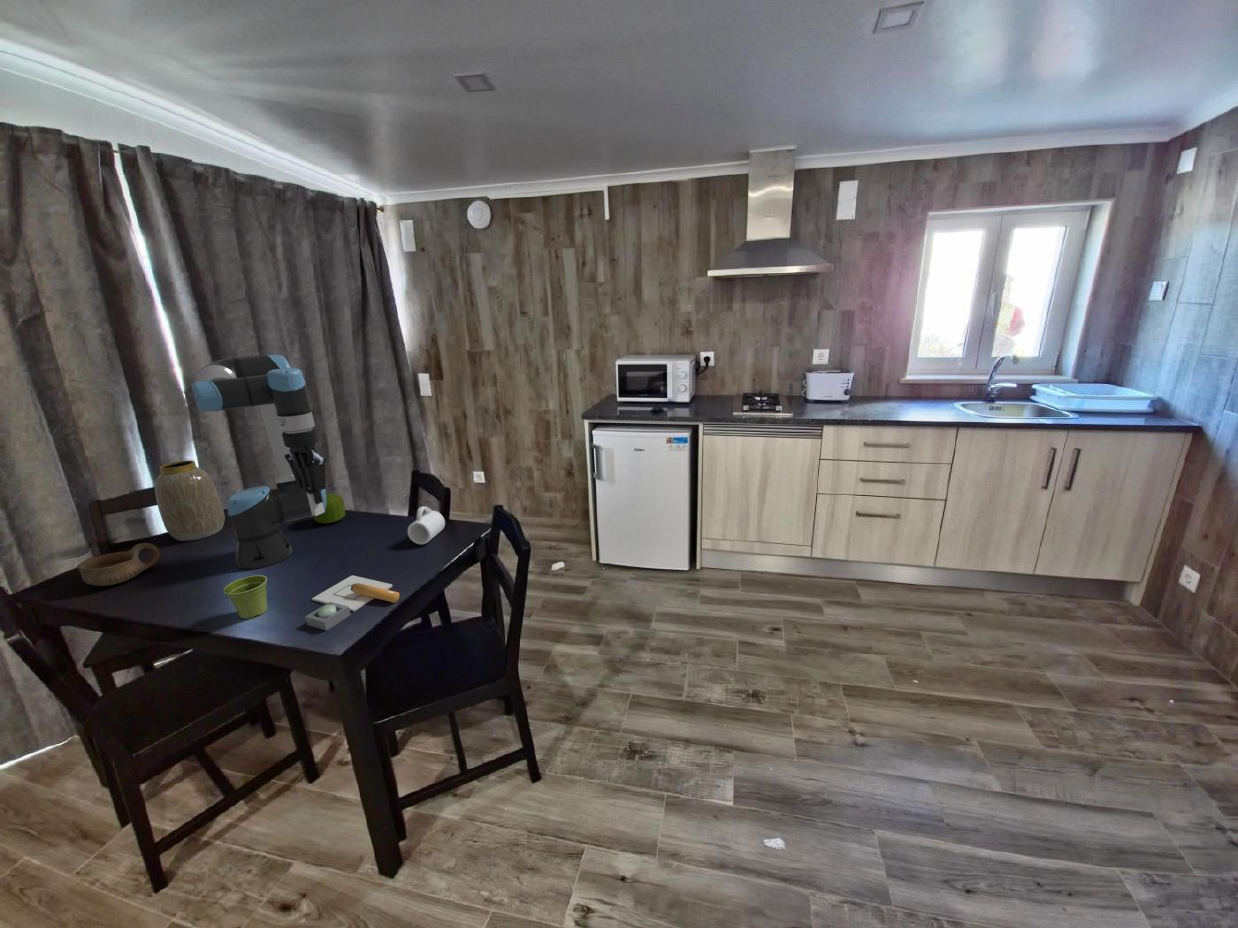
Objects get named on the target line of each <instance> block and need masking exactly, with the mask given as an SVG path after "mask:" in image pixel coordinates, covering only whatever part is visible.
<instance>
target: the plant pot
mask: <svg viewBox="0 0 1238 928" xmlns="http://www.w3.org/2000/svg"><path fill="white" fill-rule="evenodd" d="M267 582H268V577H267V576H265V575H262V574H259V575H250V576H246V577H242V578H240V579H237V580H234V581H232V582H230V583H229V584H227V585H226V586H224V588H223V589H222V592H223V594H225V595H226V596H227V597H228V598H229V599H230V601H231V603H232V605H233V607H234V609H235V610H236V612H237V614H238V616H239V617H240V618H241V619H243V620H248V619H253V618H254V617H256V616H260V615H261V616H262V615H263V614H264V613H266V611H268V601H267V600H268V599H267V588H266V587H267Z"/></svg>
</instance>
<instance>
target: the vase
mask: <svg viewBox="0 0 1238 928" xmlns="http://www.w3.org/2000/svg"><path fill="white" fill-rule="evenodd" d="M159 471H160V474H159V475H158V476H157V478H156V480H155V482H154V494H155V499H156V504H157V507H158V511H159V515H160V518H161V520H162V523H163V525H164V528H165V530H166V532H167V533H168V534H169V535H170V536H171V537H172V538H173V539H175V540H177V541H180V542H190V541H196V540H197V541H198V540H201V539H205V538H208V537H211V536H213V535H215V534H217V533H219V532H220V531H221V530H222V529H223V528H224V524H225V521H226V520H225V518H226V516H225V512H224V511H225V510H224V508H223V504H222V500H221V499H220V495H219V492H218V490H217V488H216V486H215V483H214V481H213V480H212V478H211V476H210V475H209V473H208V472H206V471H205V469H203V468H200V467H198V466H197V464H196V462H195V460H181V461H174V462H169V463H166V464H163V465H161V466H160V467H159Z"/></svg>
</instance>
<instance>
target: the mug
mask: <svg viewBox="0 0 1238 928" xmlns="http://www.w3.org/2000/svg"><path fill="white" fill-rule="evenodd" d="M424 511H425V513H424ZM445 525H446V519H445V517H444V516H443V515H442V514H441V513H440V512H438V511H436V510H432V509H431V508H430V507H428V506H424V505H423V506H420V507H419V508H418V509H417V512H416V520H414V521H413V522H412V523H410V524H409V525H408V527H407V536H408V538H409V540H411V541H412V542H413V543H414V544H417V545H425V544H428V542H430V541H431V540H432V539H433V538H434V537H436V536H437V535H438V534H439V533H440V532H442V531H443V530H444V528H445Z"/></svg>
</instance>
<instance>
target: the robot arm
mask: <svg viewBox="0 0 1238 928" xmlns="http://www.w3.org/2000/svg"><path fill="white" fill-rule="evenodd" d="M191 387H192V388H191V389H192V392H193V394H194V398H195V402H196V405H197V408H198V410H199V411H200V412H203V413H210V412H220V411H227V410H233V409H240V408H247V407H257V406H259V408H260V413H261V416H262V420H263V422H264V423H263V424H264V426H265V431H266V433H267V437H268V440H269V443H270V448H271V451H272V454H273V459H274V461H275V466H276V468H277V472H278V478H277V479H276V481H275V485H276V488H270V487H269V486H267V485H256V486H253V487H249V488H245V489H242V490H241V491H238V492H236V493H235V494H233V495H232V496H230V497H228V499H227V501H226V508H227V516H229V518H230V522H231V525H232V528H233V531H234V534H235V538H236V541H237V544H236V552H235V553H236V554H235V562H236V565H237V567H238V569H243V570H255V569H262V568H265V567H268V566H273V565H275V564H278V563H280V562H281V561H284V560H285V559H287V558H289V557H290V556H291V555H292V554H293V547H292V545H291V543H290V541H289V540H288V538H287V537H286V536H285V535H284V534H283V532H282V531H281V527H280V524H285V523H289V522H292V521H297V520H300V519H304V518H308V517H310V518H312V517H313V515H314V516H317V515H319V514H322V513H324V512H325V509H326V494H327V493H326V489H327V481H326V461H327V457H326V456H324V455H323V456H321V455H320V454H318V450H317V447H316V444H317V443H318V441H319V439H318V434H317V430H316V429H315V428H314V427H315V426H316V425H315V419H314V416H313V413H312V410H311V405H310V401H309V397H308V391H307V386H306V379H305V378H304V375H303V372H302V370H301V369H300V368H295V367H292V366H291V365H290V363H289V361H288V359H286V357H284V356H283V355H281V354H262V355H261V354H260V355H255V356H253V355H251V356H239V357H228V358H222V359H219V360H215V361H212V362H210V363H207V364H206V365H204V366H203V367H201V368H200V369H199V370H198V372H197V374H196V377H195V382H193V383H192V385H191Z"/></svg>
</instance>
